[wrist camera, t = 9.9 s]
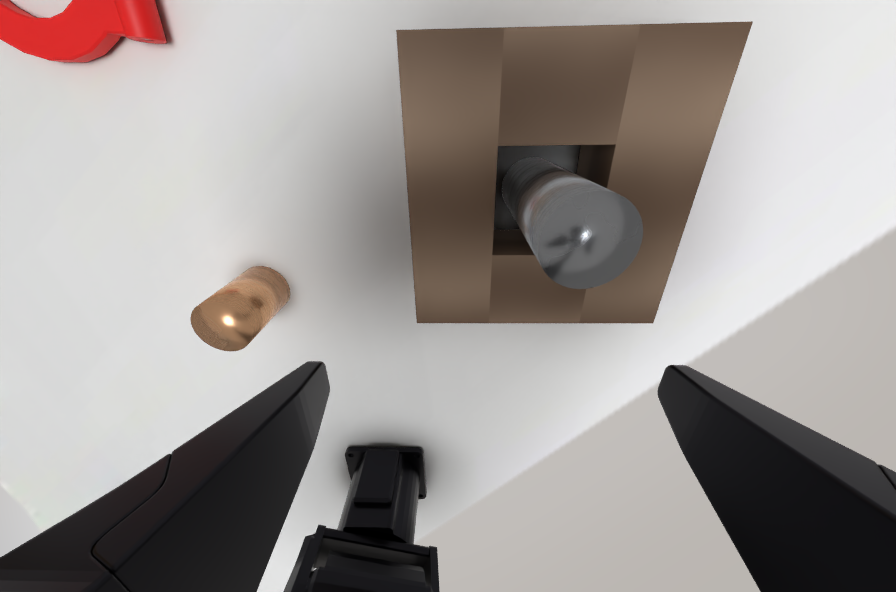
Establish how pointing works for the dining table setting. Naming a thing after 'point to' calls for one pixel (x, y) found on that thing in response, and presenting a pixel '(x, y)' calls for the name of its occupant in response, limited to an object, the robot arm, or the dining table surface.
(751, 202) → the dining table surface
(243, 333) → the short pin
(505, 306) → the hole block
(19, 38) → the tow hook
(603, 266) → the long pin
